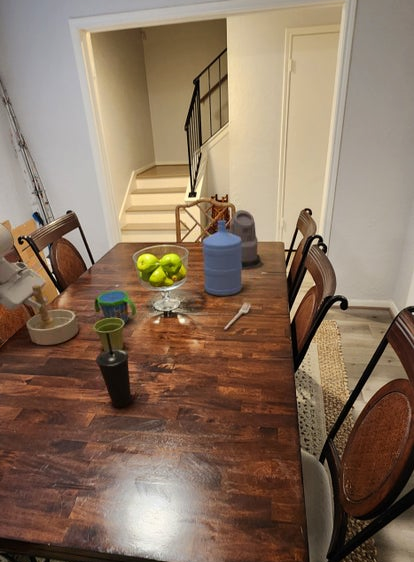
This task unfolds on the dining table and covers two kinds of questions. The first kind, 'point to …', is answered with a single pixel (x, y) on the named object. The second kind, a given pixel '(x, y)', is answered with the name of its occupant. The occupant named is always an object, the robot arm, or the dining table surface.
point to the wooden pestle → (43, 309)
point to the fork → (239, 314)
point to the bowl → (58, 334)
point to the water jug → (222, 262)
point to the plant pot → (110, 332)
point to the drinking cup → (115, 374)
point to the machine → (246, 238)
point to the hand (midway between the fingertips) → (43, 305)
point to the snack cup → (115, 305)
